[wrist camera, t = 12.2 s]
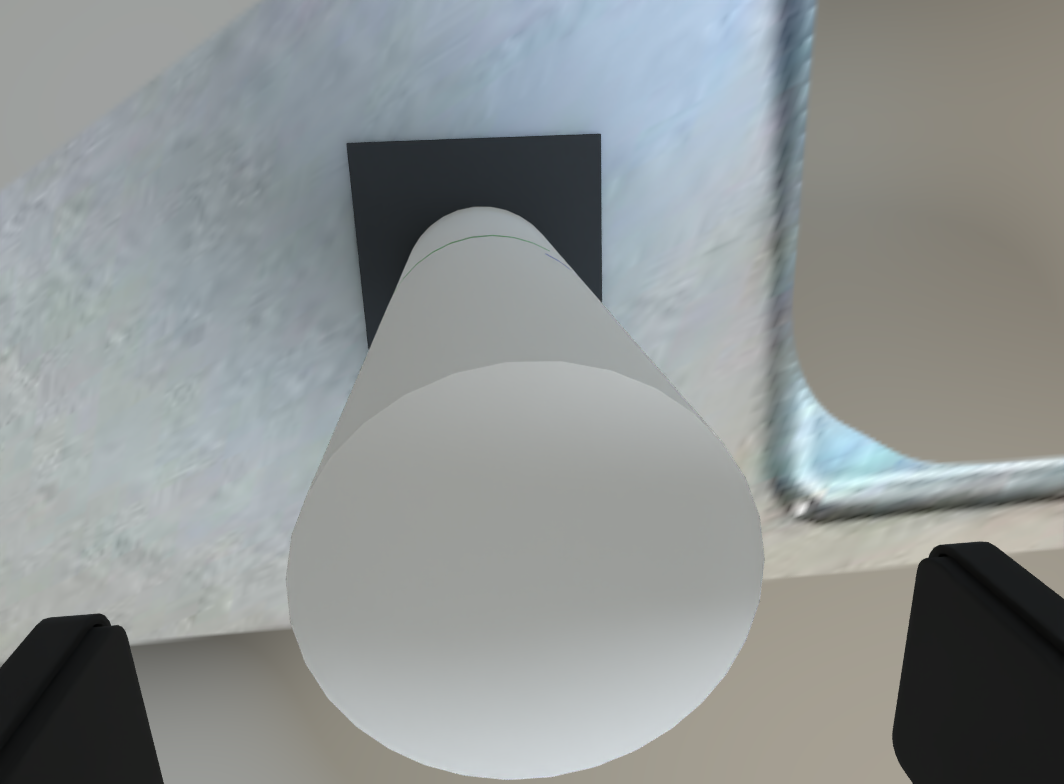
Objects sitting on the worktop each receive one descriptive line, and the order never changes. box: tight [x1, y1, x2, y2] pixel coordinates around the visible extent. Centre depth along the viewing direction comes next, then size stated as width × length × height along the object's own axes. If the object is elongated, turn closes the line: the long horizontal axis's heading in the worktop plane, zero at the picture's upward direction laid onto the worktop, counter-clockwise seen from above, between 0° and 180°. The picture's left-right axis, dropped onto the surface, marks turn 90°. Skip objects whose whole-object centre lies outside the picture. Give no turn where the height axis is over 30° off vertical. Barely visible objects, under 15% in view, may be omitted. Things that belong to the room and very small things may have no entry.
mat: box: [347, 134, 602, 349], centre depth 35 cm, size 13×11×1 cm
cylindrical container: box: [286, 207, 765, 780], centre depth 23 cm, size 7×7×25 cm
